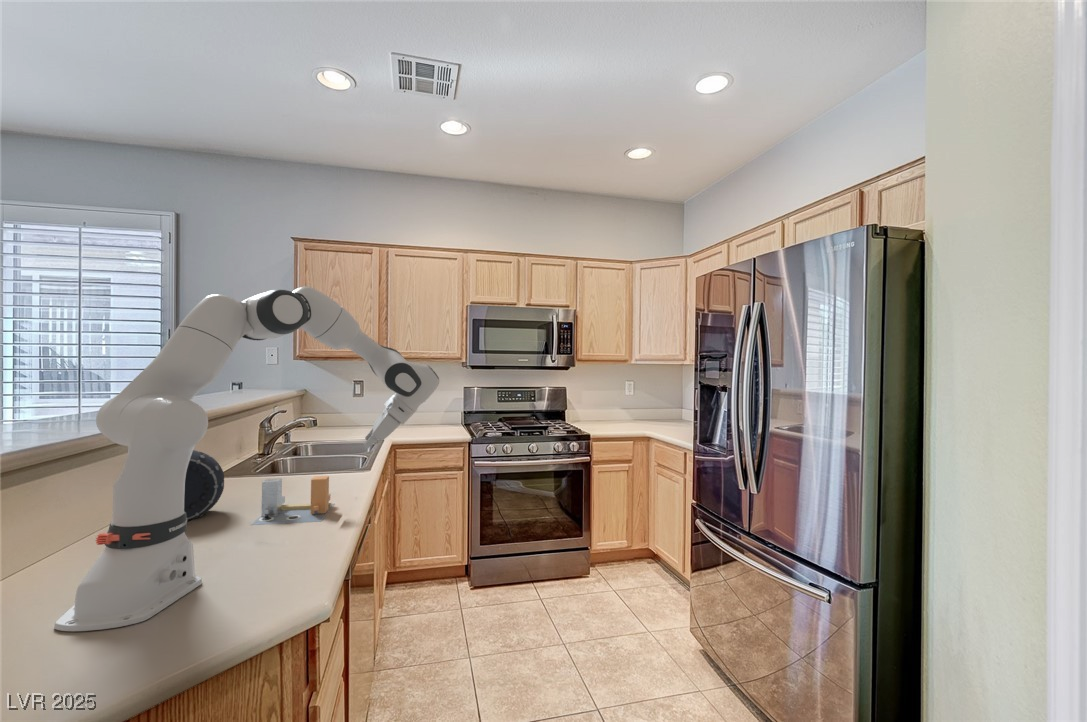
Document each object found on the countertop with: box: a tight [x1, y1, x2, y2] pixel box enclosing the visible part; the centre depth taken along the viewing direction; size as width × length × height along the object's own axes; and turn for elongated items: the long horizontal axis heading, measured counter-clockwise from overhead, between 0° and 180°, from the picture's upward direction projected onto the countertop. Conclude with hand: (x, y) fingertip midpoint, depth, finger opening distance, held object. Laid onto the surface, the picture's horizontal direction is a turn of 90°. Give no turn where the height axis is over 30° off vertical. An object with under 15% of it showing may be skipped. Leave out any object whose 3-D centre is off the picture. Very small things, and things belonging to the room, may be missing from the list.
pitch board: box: [250, 502, 335, 526], centre depth 139 cm, size 17×18×2 cm
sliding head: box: [310, 475, 331, 515], centre depth 142 cm, size 12×4×10 cm, turn 12°
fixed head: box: [260, 477, 286, 518], centre depth 139 cm, size 12×4×10 cm, turn 12°
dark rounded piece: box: [184, 449, 225, 522], centre depth 135 cm, size 11×20×20 cm, turn 119°
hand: (366, 443), depth 145 cm, fingers open, 8 cm apart
